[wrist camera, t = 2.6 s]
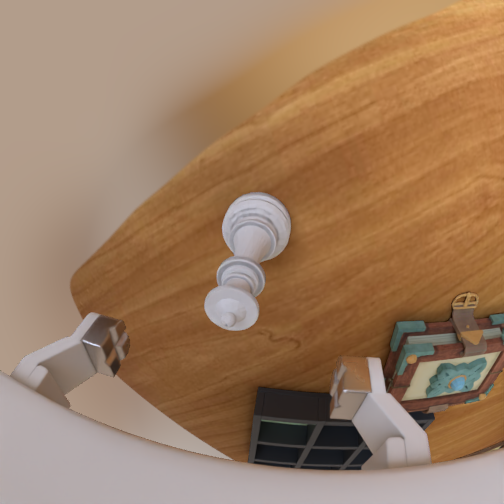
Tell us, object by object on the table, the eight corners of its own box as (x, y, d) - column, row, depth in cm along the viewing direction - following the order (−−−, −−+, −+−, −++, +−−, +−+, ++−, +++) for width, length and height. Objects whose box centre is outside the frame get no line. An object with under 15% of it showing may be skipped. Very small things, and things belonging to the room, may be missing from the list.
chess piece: (234, 254, 22) (194, 360, 13) (219, 197, 20) (158, 284, 11) (295, 247, 21) (289, 359, 12) (285, 186, 19) (271, 274, 10)
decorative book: (497, 375, 25) (510, 406, 21) (370, 392, 28) (374, 432, 24) (544, 285, 19) (568, 316, 14) (400, 293, 22) (417, 337, 17)
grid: (250, 453, 39) (246, 473, 36) (258, 386, 29) (253, 415, 26) (371, 459, 37) (372, 478, 34) (429, 393, 27) (435, 419, 24)
